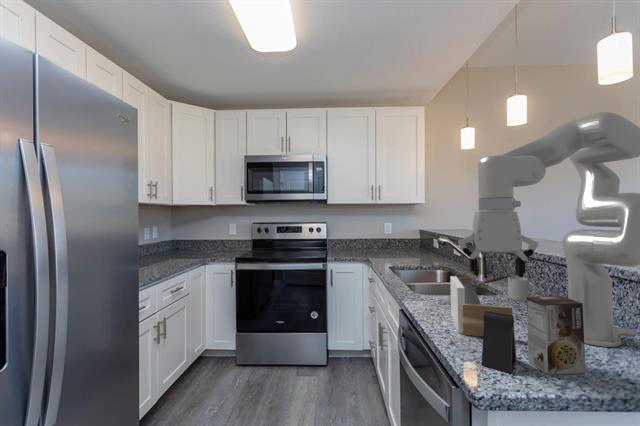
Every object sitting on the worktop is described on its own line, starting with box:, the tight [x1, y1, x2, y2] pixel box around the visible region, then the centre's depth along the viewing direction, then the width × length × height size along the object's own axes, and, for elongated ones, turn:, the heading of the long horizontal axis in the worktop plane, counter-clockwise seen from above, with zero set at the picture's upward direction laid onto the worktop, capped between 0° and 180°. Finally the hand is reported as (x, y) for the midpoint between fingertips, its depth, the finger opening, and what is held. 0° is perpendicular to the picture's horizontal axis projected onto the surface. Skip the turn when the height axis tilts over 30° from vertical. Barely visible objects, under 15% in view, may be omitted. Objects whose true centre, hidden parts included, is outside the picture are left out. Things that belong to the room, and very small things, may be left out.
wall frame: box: [449, 275, 465, 335], centre depth 99 cm, size 2×18×14 cm, turn 162°
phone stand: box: [481, 311, 518, 375], centre depth 73 cm, size 9×6×12 cm, turn 138°
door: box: [462, 304, 513, 337], centre depth 87 cm, size 2×13×9 cm, turn 73°
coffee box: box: [526, 295, 587, 376], centre depth 70 cm, size 9×6×16 cm
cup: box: [507, 276, 537, 302], centre depth 126 cm, size 7×10×9 cm
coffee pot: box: [447, 274, 512, 307], centre depth 110 cm, size 21×12×15 cm, turn 52°
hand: (496, 275), depth 73 cm, fingers open, 9 cm apart
